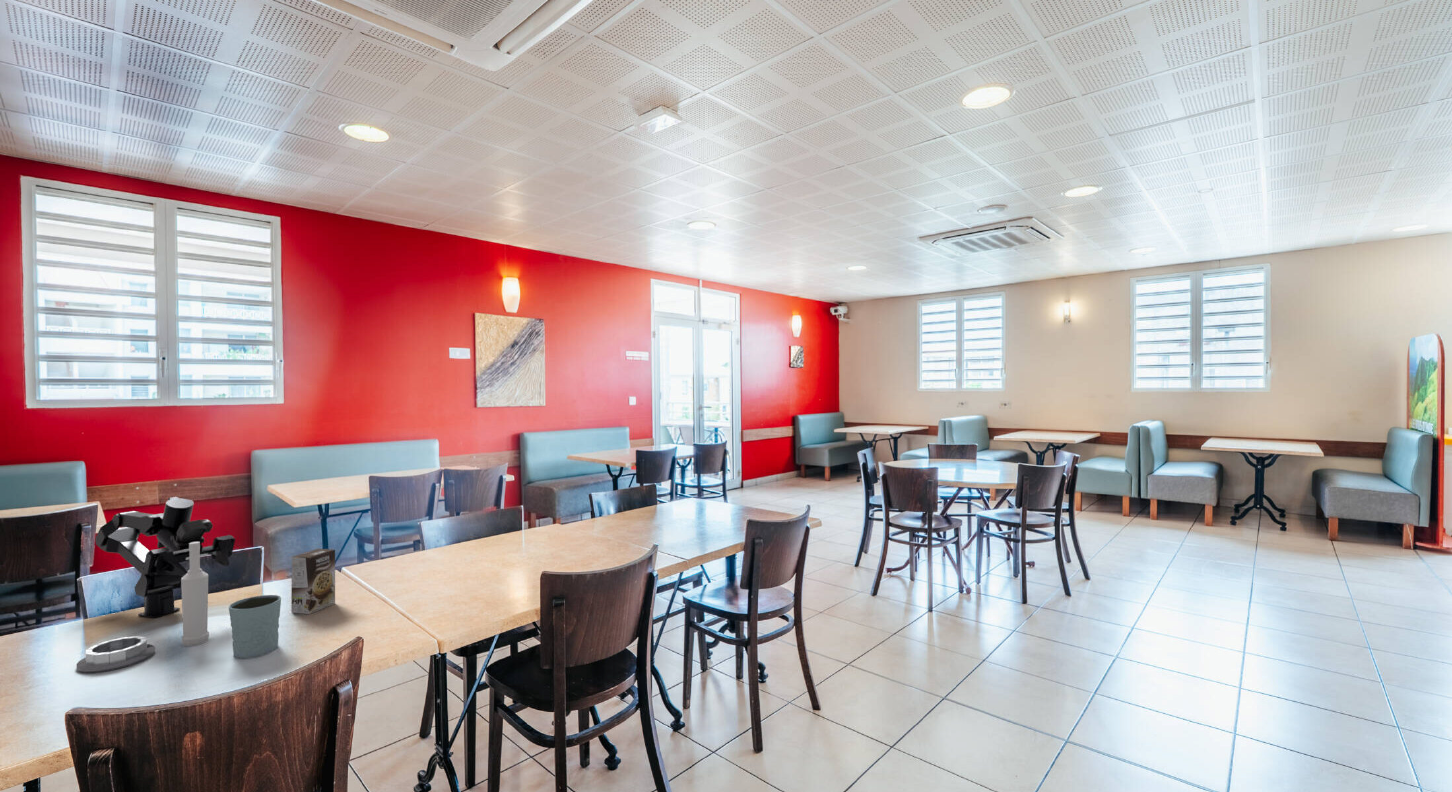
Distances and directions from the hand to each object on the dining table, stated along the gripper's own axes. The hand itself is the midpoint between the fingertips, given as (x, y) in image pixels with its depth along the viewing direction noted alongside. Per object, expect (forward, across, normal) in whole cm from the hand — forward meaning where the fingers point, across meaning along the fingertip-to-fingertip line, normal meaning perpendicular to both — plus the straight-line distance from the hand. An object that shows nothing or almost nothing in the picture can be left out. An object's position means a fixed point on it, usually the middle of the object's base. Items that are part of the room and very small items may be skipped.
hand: (207, 569), depth 161 cm
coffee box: (+15, +21, +11) cm, 28 cm away
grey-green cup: (+30, -2, +5) cm, 30 cm away
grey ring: (+8, -19, +14) cm, 25 cm away
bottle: (+13, -6, +12) cm, 18 cm away
